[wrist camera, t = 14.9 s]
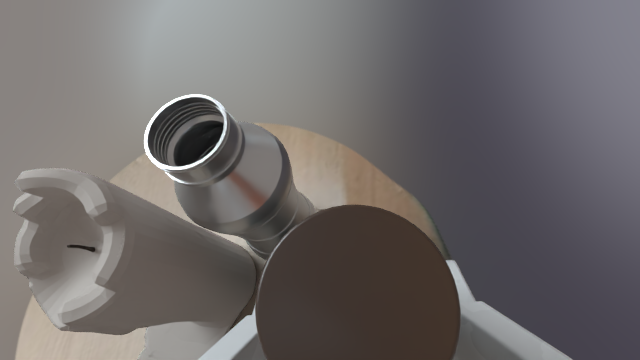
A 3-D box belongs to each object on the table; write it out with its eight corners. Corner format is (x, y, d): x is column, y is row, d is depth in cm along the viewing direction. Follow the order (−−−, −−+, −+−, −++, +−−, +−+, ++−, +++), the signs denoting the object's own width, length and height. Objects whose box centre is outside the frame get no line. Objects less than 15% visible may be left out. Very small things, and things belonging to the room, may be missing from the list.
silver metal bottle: (243, 223, 33) (89, 119, 15) (300, 186, 34) (221, 42, 15) (274, 279, 31) (139, 240, 12) (335, 238, 32) (292, 143, 13)
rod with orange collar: (391, 257, 18) (462, 116, 5) (414, 340, 16) (620, 484, 3) (317, 274, 18) (181, 185, 5) (333, 358, 16) (201, 561, 3)
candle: (120, 357, 30) (-264, 435, 12) (214, 228, 34) (28, 131, 15) (176, 410, 28) (-184, 608, 10) (271, 267, 31) (136, 211, 13)
